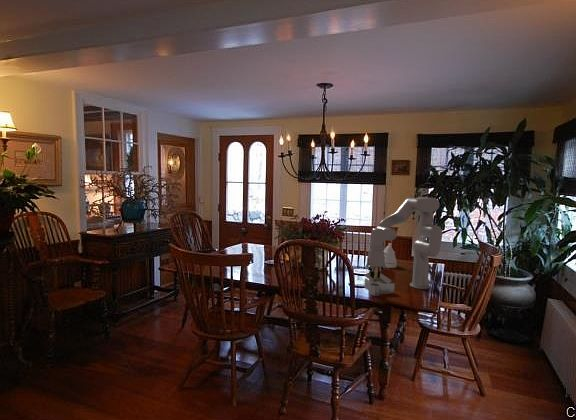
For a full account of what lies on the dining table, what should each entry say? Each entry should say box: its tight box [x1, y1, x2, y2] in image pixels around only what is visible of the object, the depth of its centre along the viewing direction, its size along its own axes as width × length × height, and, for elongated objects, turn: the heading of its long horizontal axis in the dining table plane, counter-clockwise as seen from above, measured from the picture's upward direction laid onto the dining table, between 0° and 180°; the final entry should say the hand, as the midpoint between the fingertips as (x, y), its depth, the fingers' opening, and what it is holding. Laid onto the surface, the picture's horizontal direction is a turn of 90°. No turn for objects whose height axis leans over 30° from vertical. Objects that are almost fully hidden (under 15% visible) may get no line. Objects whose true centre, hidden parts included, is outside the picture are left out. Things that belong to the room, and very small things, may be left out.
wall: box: [363, 270, 392, 284], centre depth 250 cm, size 16×9×15 cm
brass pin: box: [372, 267, 378, 282], centre depth 228 cm, size 3×3×10 cm
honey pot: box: [383, 243, 398, 269], centre depth 301 cm, size 13×13×18 cm
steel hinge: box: [364, 277, 396, 297], centre depth 235 cm, size 17×17×6 cm
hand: (375, 277), depth 228 cm, fingers closed on brass pin, 3 cm apart
